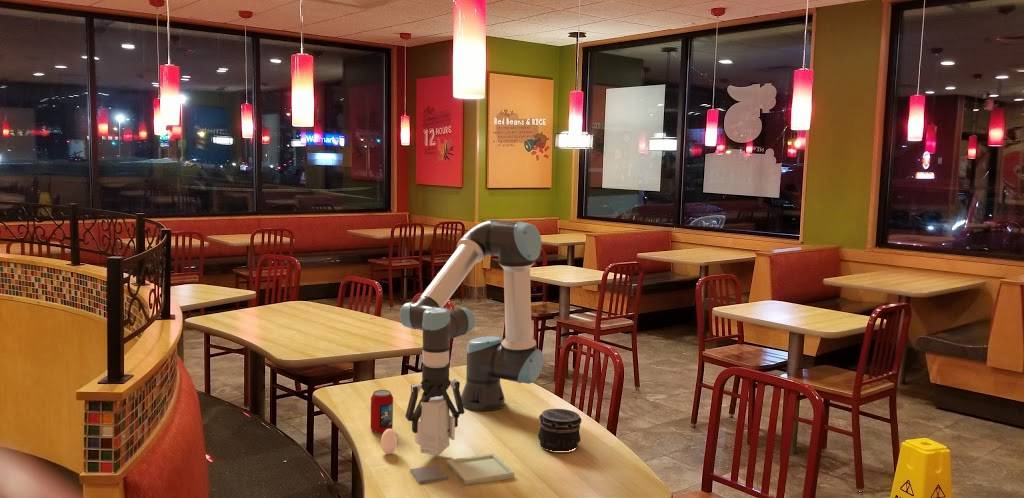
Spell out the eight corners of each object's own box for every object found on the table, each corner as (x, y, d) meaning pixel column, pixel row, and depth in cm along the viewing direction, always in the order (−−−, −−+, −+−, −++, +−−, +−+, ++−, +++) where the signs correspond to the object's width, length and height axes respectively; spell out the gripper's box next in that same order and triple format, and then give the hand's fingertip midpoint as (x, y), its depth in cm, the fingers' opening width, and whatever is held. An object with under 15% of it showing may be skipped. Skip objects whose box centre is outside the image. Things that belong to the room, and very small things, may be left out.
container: (584, 442, 241) (586, 410, 239) (573, 457, 229) (575, 424, 227) (544, 436, 245) (545, 405, 243) (531, 450, 233) (533, 418, 231)
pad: (438, 467, 218) (438, 465, 218) (448, 479, 211) (448, 476, 211) (410, 471, 215) (410, 469, 214) (419, 483, 207) (419, 480, 207)
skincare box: (438, 456, 220) (439, 405, 218) (418, 453, 222) (419, 402, 219) (450, 445, 228) (450, 395, 226) (430, 442, 230) (431, 393, 227)
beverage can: (388, 435, 241) (388, 396, 239) (367, 432, 242) (367, 394, 240) (395, 427, 247) (396, 390, 246) (375, 425, 249) (375, 388, 247)
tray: (493, 458, 226) (493, 453, 226) (514, 477, 213) (514, 472, 213) (447, 465, 220) (447, 459, 220) (465, 485, 207) (465, 479, 207)
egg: (389, 458, 223) (390, 433, 222) (377, 454, 226) (377, 429, 225) (400, 453, 227) (400, 428, 226) (388, 449, 229) (388, 424, 229)
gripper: (467, 356, 229) (466, 430, 232) (393, 364, 220) (393, 441, 223) (477, 363, 222) (476, 439, 226) (401, 371, 213) (401, 451, 216)
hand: (434, 440), depth 224 cm, fingers closed on skincare box, 9 cm apart
